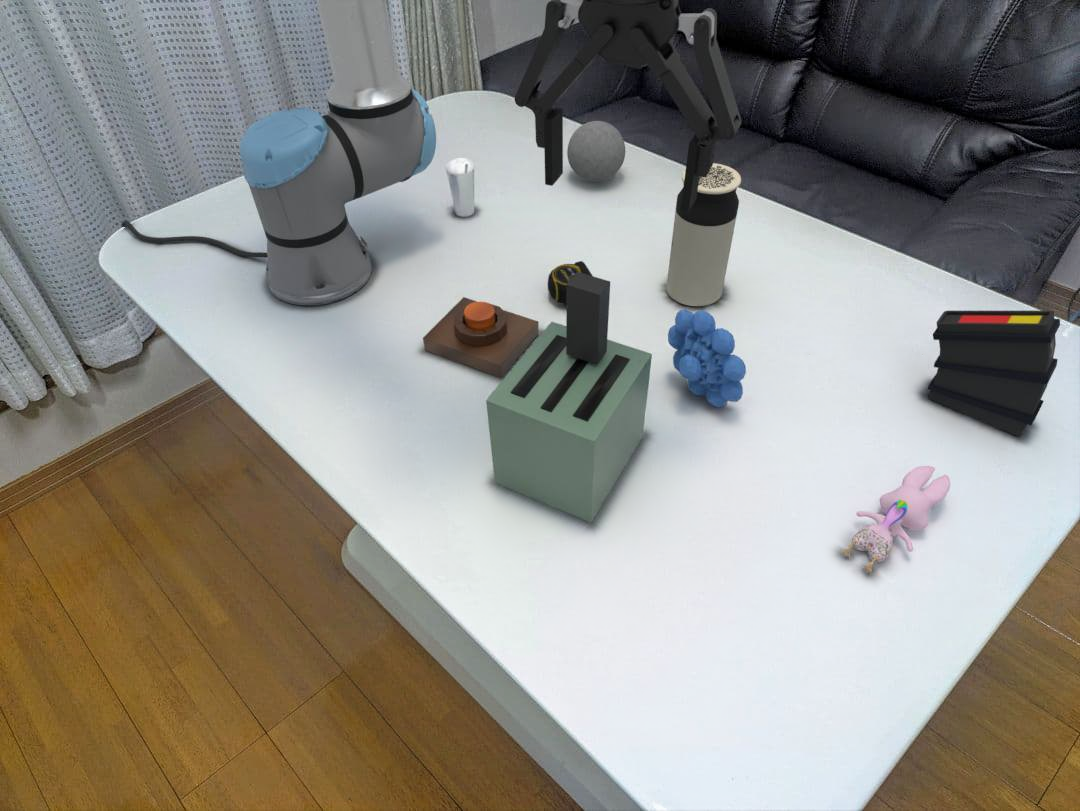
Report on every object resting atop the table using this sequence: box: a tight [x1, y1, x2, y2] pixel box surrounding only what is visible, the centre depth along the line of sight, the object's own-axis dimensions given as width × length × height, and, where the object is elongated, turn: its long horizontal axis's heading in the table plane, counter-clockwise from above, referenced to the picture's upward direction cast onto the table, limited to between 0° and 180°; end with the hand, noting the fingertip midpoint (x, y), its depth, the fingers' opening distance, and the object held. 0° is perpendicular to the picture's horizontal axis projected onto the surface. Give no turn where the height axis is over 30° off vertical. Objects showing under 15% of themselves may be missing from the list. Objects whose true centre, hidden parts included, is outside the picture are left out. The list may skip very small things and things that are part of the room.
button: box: [464, 301, 495, 330], centre depth 96 cm, size 4×4×2 cm
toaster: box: [485, 321, 653, 523], centre depth 80 cm, size 12×14×13 cm
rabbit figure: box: [841, 465, 951, 575], centre depth 75 cm, size 6×6×15 cm
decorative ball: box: [566, 120, 626, 183], centre depth 126 cm, size 10×10×10 cm
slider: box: [565, 272, 611, 365], centre depth 74 cm, size 4×2×9 cm, turn 61°
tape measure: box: [547, 260, 593, 306], centre depth 105 cm, size 7×7×4 cm
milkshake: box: [445, 157, 476, 218], centre depth 119 cm, size 4×5×10 cm
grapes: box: [667, 309, 747, 408], centre depth 87 cm, size 12×7×12 cm, turn 39°
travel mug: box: [665, 162, 742, 307], centre depth 100 cm, size 8×8×18 cm
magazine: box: [926, 310, 1061, 437], centre depth 84 cm, size 4×13×15 cm, turn 50°
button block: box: [422, 296, 540, 379], centre depth 98 cm, size 12×10×4 cm
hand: (619, 191), depth 70 cm, fingers open, 13 cm apart
